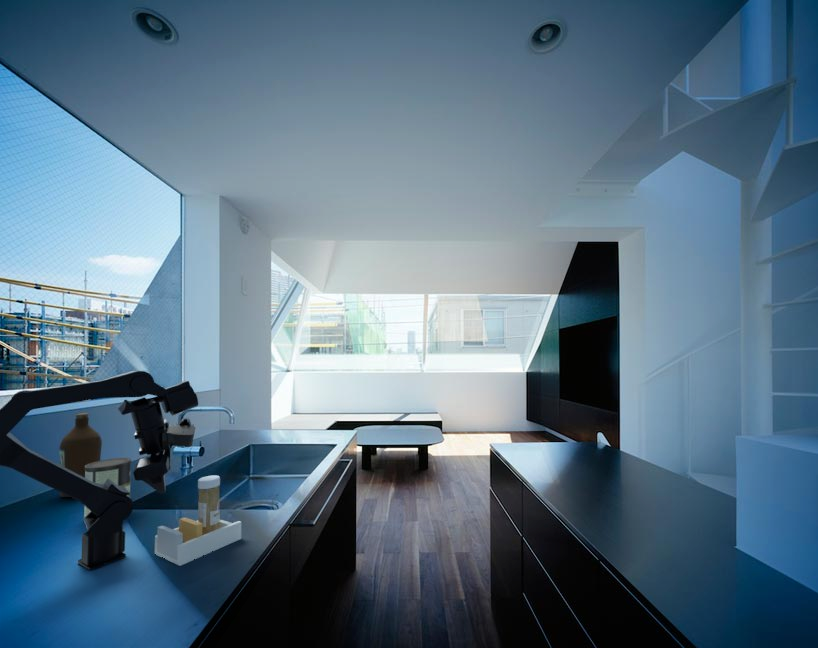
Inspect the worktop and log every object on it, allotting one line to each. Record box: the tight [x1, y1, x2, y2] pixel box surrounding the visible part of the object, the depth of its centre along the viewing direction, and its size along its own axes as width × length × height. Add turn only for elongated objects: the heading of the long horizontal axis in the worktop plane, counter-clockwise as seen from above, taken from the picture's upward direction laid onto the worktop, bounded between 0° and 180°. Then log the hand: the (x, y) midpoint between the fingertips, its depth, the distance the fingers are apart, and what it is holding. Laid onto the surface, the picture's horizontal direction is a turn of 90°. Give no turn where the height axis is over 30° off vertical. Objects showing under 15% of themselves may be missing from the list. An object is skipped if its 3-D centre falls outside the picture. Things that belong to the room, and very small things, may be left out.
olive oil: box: [59, 412, 103, 498], centre depth 132 cm, size 11×11×25 cm
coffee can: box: [83, 457, 132, 519], centre depth 112 cm, size 10×10×14 cm
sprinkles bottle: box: [197, 474, 221, 535], centre depth 94 cm, size 5×5×14 cm
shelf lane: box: [154, 519, 242, 566], centre depth 91 cm, size 14×10×6 cm
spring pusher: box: [178, 516, 202, 543], centre depth 90 cm, size 1×7×5 cm, turn 57°
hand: (165, 480), depth 98 cm, fingers open, 9 cm apart
